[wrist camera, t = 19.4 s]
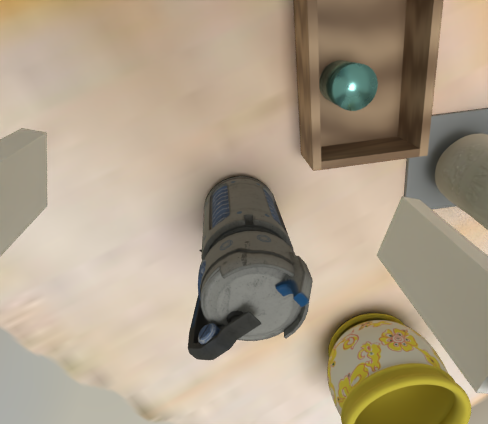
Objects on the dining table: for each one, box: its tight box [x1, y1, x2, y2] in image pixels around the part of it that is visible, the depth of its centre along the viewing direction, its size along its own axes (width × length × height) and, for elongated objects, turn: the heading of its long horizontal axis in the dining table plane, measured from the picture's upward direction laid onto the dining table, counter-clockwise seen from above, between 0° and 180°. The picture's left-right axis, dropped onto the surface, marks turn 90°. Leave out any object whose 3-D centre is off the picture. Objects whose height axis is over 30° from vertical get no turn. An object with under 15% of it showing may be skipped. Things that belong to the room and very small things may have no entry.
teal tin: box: [319, 60, 378, 111], centre depth 44 cm, size 5×5×6 cm
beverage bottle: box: [188, 176, 312, 360], centre depth 43 cm, size 10×13×25 cm
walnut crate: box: [293, 0, 443, 171], centre depth 44 cm, size 20×14×7 cm
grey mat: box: [404, 108, 488, 209], centre depth 53 cm, size 14×14×1 cm
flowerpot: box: [328, 313, 471, 424], centre depth 60 cm, size 18×18×16 cm
